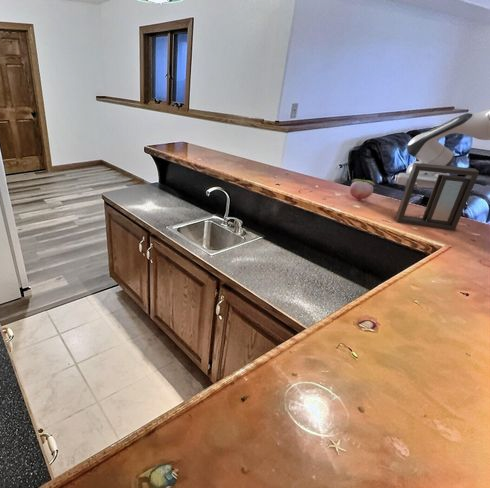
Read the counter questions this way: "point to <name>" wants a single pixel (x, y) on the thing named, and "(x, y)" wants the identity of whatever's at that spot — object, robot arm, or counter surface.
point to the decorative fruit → (361, 188)
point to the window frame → (440, 196)
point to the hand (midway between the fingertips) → (428, 186)
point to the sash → (434, 195)
